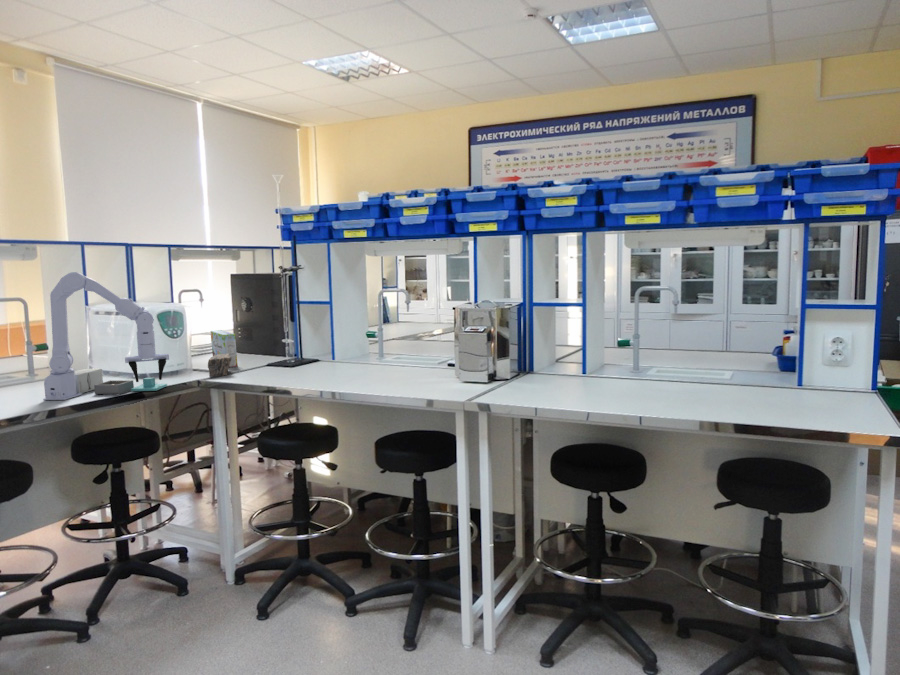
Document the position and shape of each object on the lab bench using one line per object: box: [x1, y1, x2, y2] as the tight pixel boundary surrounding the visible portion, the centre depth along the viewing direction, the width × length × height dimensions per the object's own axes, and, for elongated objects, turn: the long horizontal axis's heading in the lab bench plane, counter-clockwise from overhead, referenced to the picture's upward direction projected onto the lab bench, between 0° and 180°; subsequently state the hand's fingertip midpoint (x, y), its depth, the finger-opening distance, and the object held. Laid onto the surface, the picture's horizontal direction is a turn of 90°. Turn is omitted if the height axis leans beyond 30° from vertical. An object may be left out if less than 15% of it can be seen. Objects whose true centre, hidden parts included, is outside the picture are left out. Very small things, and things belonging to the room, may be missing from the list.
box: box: [94, 379, 135, 395], centre depth 229 cm, size 9×9×4 cm
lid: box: [130, 377, 168, 392], centre depth 233 cm, size 9×9×4 cm
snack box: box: [210, 329, 238, 368], centre depth 290 cm, size 21×6×15 cm, turn 37°
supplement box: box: [74, 368, 104, 394], centre depth 232 cm, size 7×7×13 cm
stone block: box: [207, 354, 232, 377], centre depth 265 cm, size 14×9×8 cm, turn 11°
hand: (148, 380), depth 233 cm, fingers open, 7 cm apart
